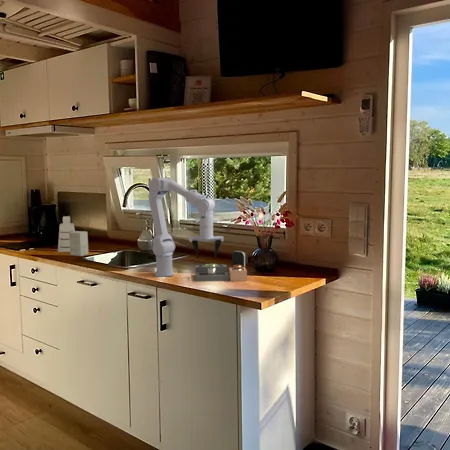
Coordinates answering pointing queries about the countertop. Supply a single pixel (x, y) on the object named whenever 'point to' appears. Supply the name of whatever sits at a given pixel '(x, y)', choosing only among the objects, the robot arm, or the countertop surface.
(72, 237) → the small box
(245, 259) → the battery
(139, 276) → the countertop surface
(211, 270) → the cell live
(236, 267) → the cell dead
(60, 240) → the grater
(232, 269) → the cup
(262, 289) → the countertop surface
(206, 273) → the tester
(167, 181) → the robot arm
